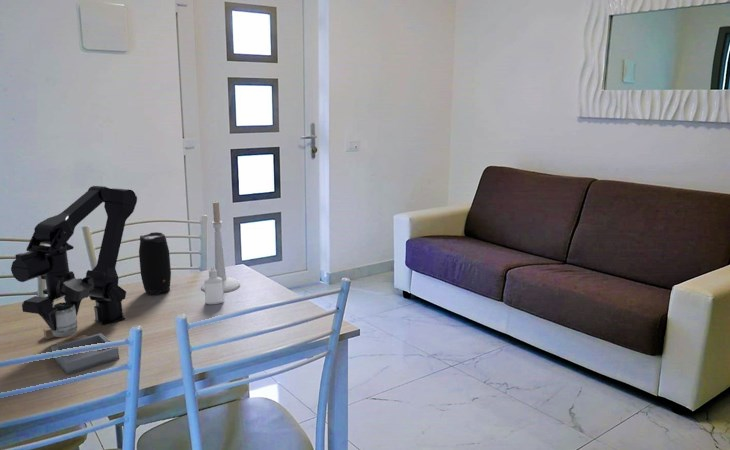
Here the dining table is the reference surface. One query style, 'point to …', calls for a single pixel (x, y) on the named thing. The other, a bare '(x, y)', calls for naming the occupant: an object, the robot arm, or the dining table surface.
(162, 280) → the portable speaker
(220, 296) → the eye dropper bottle
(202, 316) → the dining table surface
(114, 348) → the tray
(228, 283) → the candlestick
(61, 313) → the camera lens
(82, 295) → the robot arm
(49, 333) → the lens cradle
